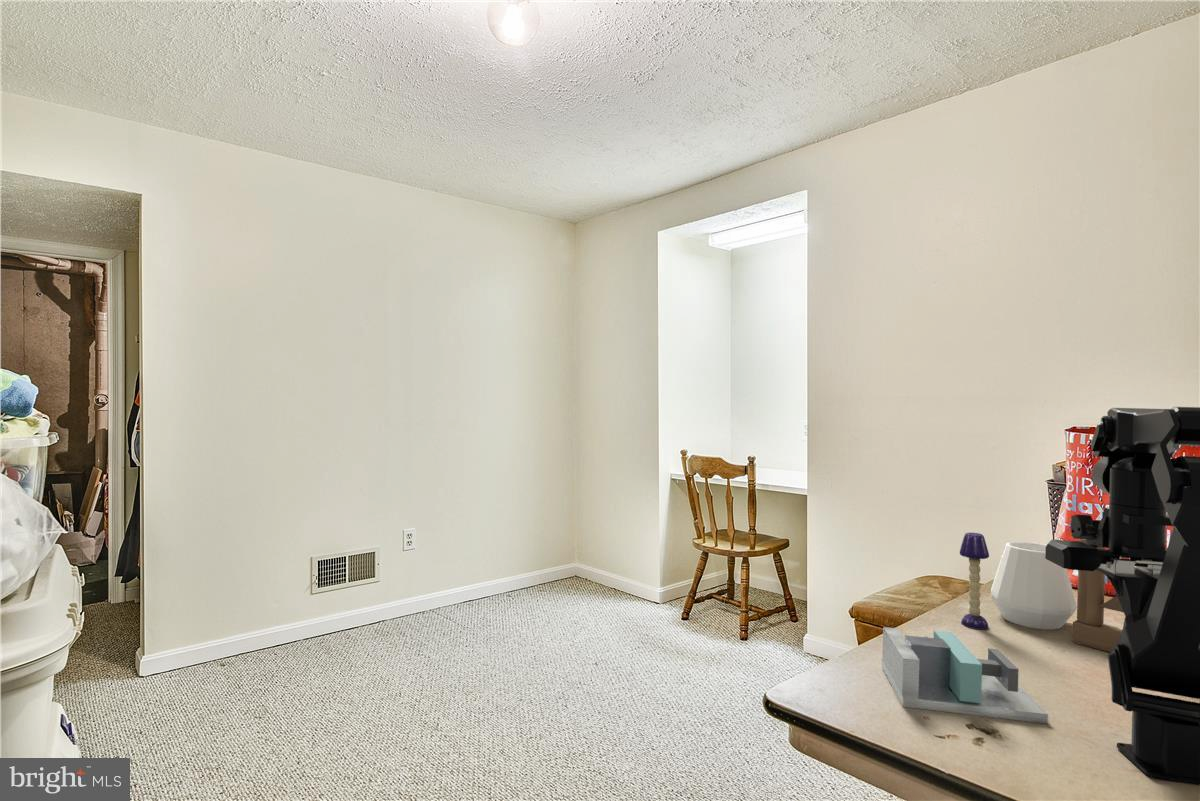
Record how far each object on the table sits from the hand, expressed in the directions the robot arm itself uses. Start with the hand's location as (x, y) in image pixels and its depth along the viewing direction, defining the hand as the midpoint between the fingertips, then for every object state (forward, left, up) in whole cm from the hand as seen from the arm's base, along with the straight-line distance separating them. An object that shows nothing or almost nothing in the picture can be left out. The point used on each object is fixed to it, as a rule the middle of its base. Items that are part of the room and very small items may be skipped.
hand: (1133, 625), depth 83 cm
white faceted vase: (+39, -4, -12) cm, 41 cm away
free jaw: (+2, +18, -11) cm, 21 cm away
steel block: (+2, +24, -11) cm, 26 cm away
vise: (+2, +20, -12) cm, 23 cm away
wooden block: (+26, -11, -12) cm, 31 cm away
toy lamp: (+33, +8, -12) cm, 36 cm away
